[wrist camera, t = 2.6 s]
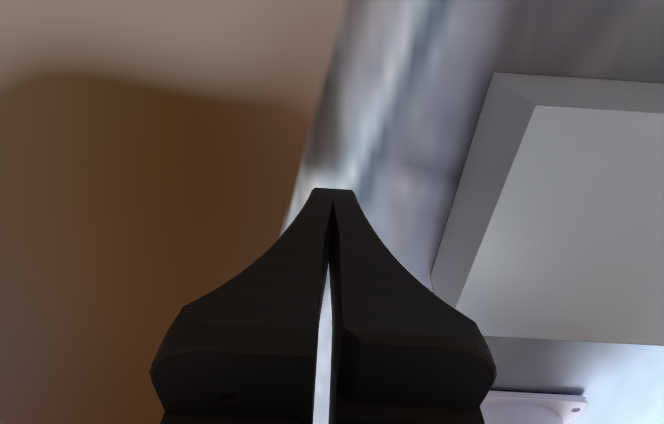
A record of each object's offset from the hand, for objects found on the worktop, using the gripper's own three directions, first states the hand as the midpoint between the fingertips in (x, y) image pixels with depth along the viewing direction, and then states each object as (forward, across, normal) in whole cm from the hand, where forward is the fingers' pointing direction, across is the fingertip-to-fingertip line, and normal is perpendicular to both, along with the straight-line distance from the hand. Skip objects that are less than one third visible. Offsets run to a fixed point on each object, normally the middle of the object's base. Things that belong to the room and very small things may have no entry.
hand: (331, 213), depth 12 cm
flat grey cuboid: (+2, -12, 0) cm, 12 cm away
